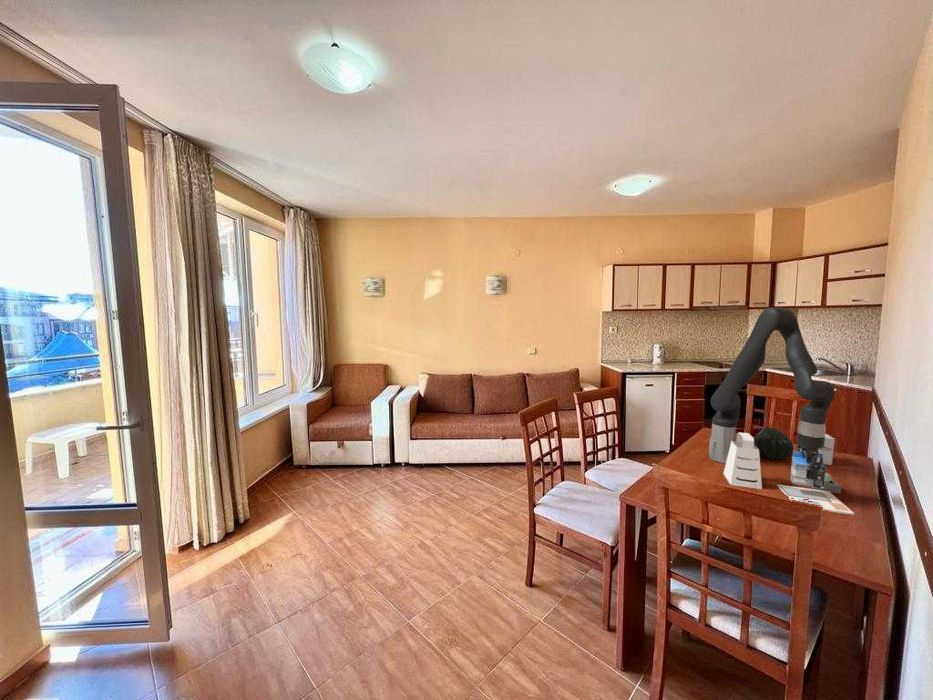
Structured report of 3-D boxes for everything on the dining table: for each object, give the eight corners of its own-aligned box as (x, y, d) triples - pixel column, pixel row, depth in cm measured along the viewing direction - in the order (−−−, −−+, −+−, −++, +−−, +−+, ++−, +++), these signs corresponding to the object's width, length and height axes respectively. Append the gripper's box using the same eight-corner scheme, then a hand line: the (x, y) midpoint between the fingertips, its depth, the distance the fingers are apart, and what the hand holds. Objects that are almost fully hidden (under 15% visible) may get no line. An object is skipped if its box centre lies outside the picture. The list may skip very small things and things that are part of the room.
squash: (805, 454, 163) (790, 423, 172) (768, 454, 166) (755, 423, 174) (787, 464, 175) (774, 435, 183) (753, 464, 177) (741, 434, 186)
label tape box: (793, 484, 139) (796, 454, 137) (789, 479, 143) (792, 449, 141) (823, 489, 135) (827, 458, 133) (819, 484, 139) (823, 453, 137)
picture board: (796, 506, 132) (796, 504, 132) (777, 485, 147) (777, 484, 147) (854, 514, 126) (854, 513, 126) (828, 492, 141) (828, 491, 141)
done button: (818, 484, 144) (819, 475, 144) (812, 480, 148) (813, 470, 148) (832, 486, 142) (833, 477, 142) (826, 481, 147) (827, 472, 146)
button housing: (814, 489, 143) (814, 482, 143) (804, 480, 151) (805, 473, 150) (840, 493, 140) (841, 486, 140) (829, 484, 148) (829, 477, 147)
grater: (752, 477, 154) (756, 432, 152) (762, 489, 144) (766, 441, 142) (723, 473, 158) (726, 429, 156) (730, 484, 148) (734, 437, 146)
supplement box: (811, 463, 167) (814, 436, 166) (803, 456, 174) (806, 431, 172) (832, 465, 164) (835, 438, 163) (823, 459, 171) (826, 433, 170)
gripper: (790, 426, 144) (786, 467, 146) (808, 438, 131) (803, 483, 133) (814, 428, 142) (809, 469, 144) (835, 440, 128) (830, 486, 130)
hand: (807, 476), depth 138 cm, fingers closed on label tape box, 4 cm apart
